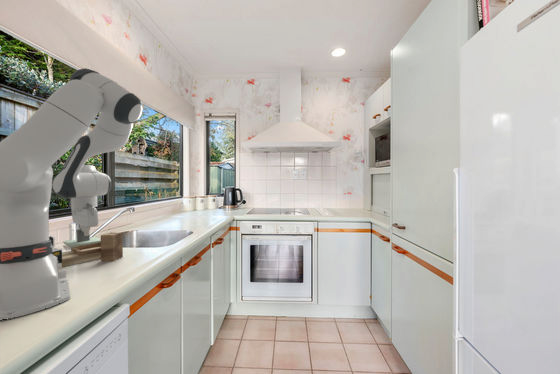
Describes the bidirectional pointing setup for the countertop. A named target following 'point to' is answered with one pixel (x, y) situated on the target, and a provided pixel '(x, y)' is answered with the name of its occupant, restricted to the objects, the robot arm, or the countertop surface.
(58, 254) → the medicine bottle
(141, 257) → the countertop surface
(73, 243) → the cover
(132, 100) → the robot arm
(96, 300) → the countertop surface
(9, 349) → the countertop surface
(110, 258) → the block
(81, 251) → the puzzle board
